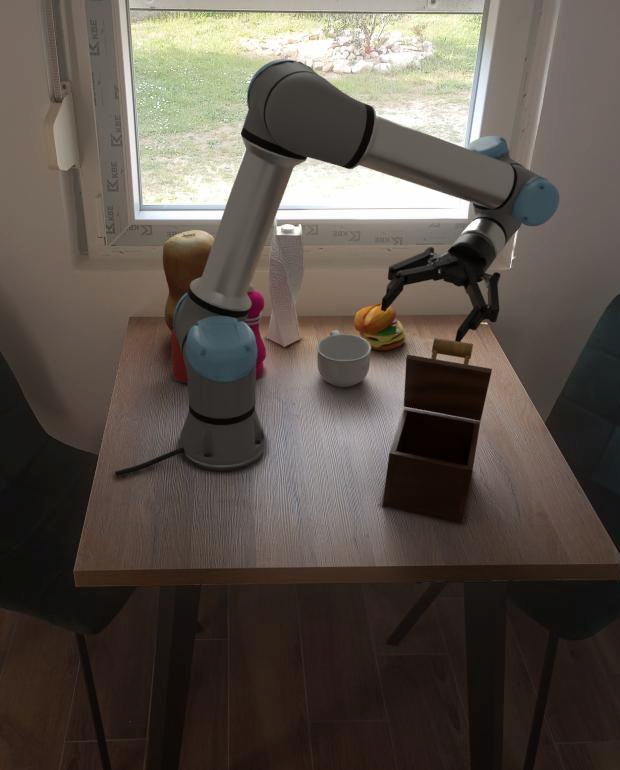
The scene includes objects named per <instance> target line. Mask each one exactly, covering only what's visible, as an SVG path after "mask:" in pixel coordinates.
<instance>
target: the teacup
mask: <svg viewBox="0 0 620 770" xmlns="http://www.w3.org/2000/svg"><path fill="white" fill-rule="evenodd" d="M371 351H372V348H371V345H370V344H369V342H368V341H367V340H365V339H364V338H362V337H361V336H360V335H355V334H351V333H340V332H339V330H337V329H333V330H331V331H330V333H329V335H328V336H325V337H323V338H321V339H320V340H319V341H318V343H317V344H316V352H317V353H316V354H317V355H316V358H317V360H316V361H317V370H318V373H319V376H320V377H321V378H322V379H323V380H324V381H325V382H327V383H329V384H330V385H332V386H335V387H339V388H349V387H353V386H356V385H357V384H359V383H360V382H362V381H363V380H364V379H365V378H366V377H367V375H368V374H369V369H370V363H371Z"/></svg>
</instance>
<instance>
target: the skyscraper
mask: <svg viewBox="0 0 620 770" xmlns="http://www.w3.org/2000/svg"><path fill="white" fill-rule="evenodd" d="M302 227H303V226H302V225H301V223H299V224H298V226H295V225H294V224H289V223H288V224H285V223H284V224H282V225H280V226H278V216H277V215H276V216H275V219H274V222H273V231H272V234H271V235H272V236H271V242H270V248H269V256H268V288H269V295H270V302H271V306H272V309H271V314H270V318H269V322H268V323H269V324H268V328H267V334H266V339H267V340H269V341H272V342H274V343H276V344H278V345H280V346H282V347H283V348H286V347H287V346H289V345H291V344H294V343H295V342H297V341H300V340H301V334H300V328H299V327H300V326H299V320H298V315H297V309H296V305H297V302H298V299H299V297H300V294H301V289H302V286H303V281H304V275H305V249H304V240H303V228H302Z"/></svg>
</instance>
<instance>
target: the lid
mask: <svg viewBox="0 0 620 770" xmlns="http://www.w3.org/2000/svg"><path fill="white" fill-rule="evenodd" d="M473 347H474V343H469V342H463V341H461V342H458V341H455V340H452V339H450V340H449V339H444V338H438V337H434V338H433V343H432V347H431V358H430V357H425V356H418V355H412V354H406V358H405V372H404V373H405V375H404V376H405V377H404V390H403V391H404V393H403V408H404V407H405V408H410V409H416V410H421V411H426V412H432V413H437V414H442V415H448V416H453V417H458V418H464V419H469V420H474V421H480V422H481V420H482V416H483V412H484V407H485V403H486V399H487V394H488V389H489V385H490V380H491V376H492V371H493V369H492V368H490V367H483V366H479V365H471V364H469V363H470V360H471V359H472V353H473ZM438 355H444V356H449V357H454V358H455V357H456V358H461V359H464V360H463V363H460V362H454V361H448V360H444V359H443V360H442V359H437V356H438Z"/></svg>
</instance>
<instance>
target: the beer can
mask: <svg viewBox="0 0 620 770" xmlns="http://www.w3.org/2000/svg"><path fill="white" fill-rule="evenodd" d="M173 327H174V325H173ZM170 336H171V337H170V338H171V339H170V340H171V358H172V360H171V361H172V363H171V364H172V376H173V378H174V379H175V380H176V381H177V382H179V383H181V384H188V376H187V370H186V366H185V363H184V359H183V356H182V353H181V349H180V346H179V343H178V340H177V338H176V335H175V331H174V328H173V330H172V332H171V335H170Z"/></svg>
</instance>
